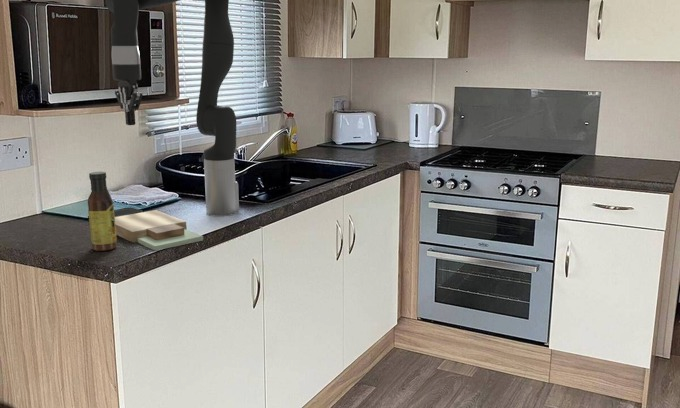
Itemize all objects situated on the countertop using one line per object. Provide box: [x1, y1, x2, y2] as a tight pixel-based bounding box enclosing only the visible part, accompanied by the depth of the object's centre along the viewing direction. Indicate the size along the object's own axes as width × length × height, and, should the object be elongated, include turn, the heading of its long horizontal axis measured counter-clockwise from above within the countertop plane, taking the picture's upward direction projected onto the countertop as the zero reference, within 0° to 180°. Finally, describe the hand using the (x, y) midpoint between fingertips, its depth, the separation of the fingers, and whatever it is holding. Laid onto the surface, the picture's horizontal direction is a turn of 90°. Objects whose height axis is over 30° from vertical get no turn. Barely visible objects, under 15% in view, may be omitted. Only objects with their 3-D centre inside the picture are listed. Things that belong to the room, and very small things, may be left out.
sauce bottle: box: [87, 171, 118, 252], centre depth 175 cm, size 6×6×20 cm
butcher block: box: [115, 209, 188, 244], centre depth 193 cm, size 16×18×3 cm
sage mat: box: [137, 229, 204, 251], centre depth 183 cm, size 14×10×1 cm
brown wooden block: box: [146, 224, 185, 241], centre depth 184 cm, size 8×6×2 cm
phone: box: [87, 206, 143, 219], centre depth 210 cm, size 8×1×15 cm
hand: (130, 124), depth 195 cm, fingers closed
